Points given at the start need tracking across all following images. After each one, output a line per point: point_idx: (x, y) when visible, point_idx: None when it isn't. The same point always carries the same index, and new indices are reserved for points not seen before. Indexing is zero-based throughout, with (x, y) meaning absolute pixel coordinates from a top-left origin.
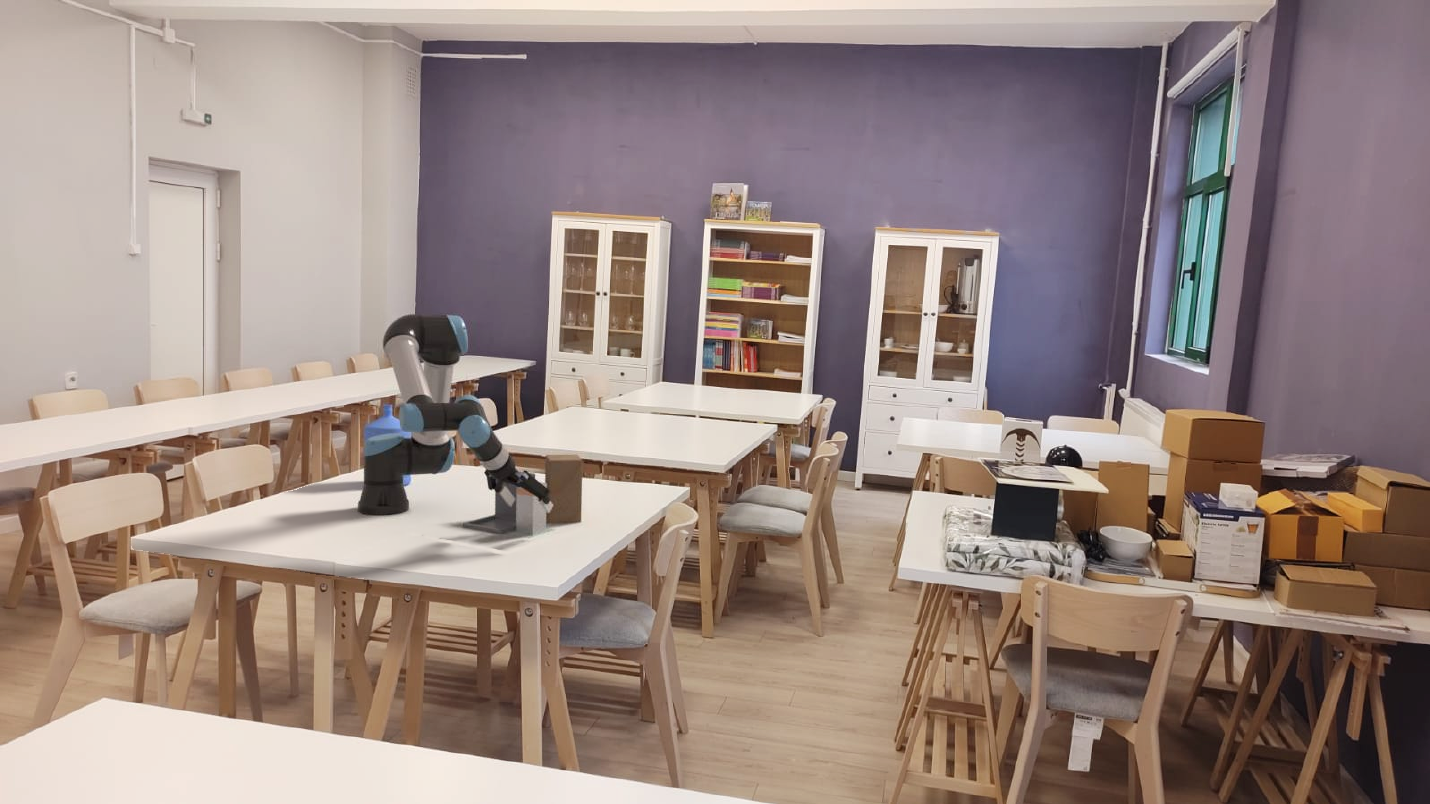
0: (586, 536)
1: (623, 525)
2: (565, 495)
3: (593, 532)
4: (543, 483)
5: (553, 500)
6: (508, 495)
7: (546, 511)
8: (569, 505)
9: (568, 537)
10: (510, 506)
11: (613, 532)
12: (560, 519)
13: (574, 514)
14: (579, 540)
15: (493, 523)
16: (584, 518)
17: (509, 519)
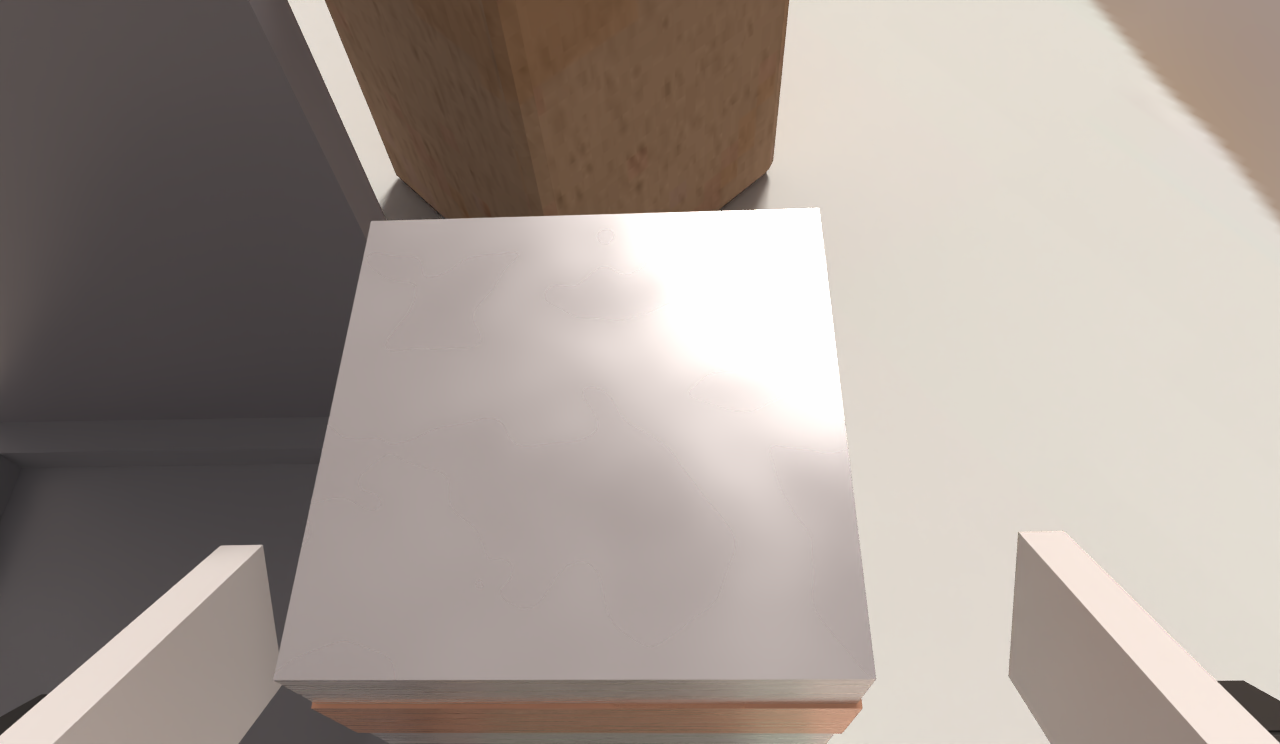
0: (1098, 401)
1: (1015, 18)
2: (674, 15)
3: (1024, 268)
4: (783, 260)
5: (577, 130)
6: (168, 719)
7: (1029, 698)
8: (707, 85)
9: (1008, 528)
10: (272, 685)
11: (1141, 184)
12: None
13: (741, 129)
14: (1184, 558)
15: (81, 633)
16: None
17: (190, 456)
